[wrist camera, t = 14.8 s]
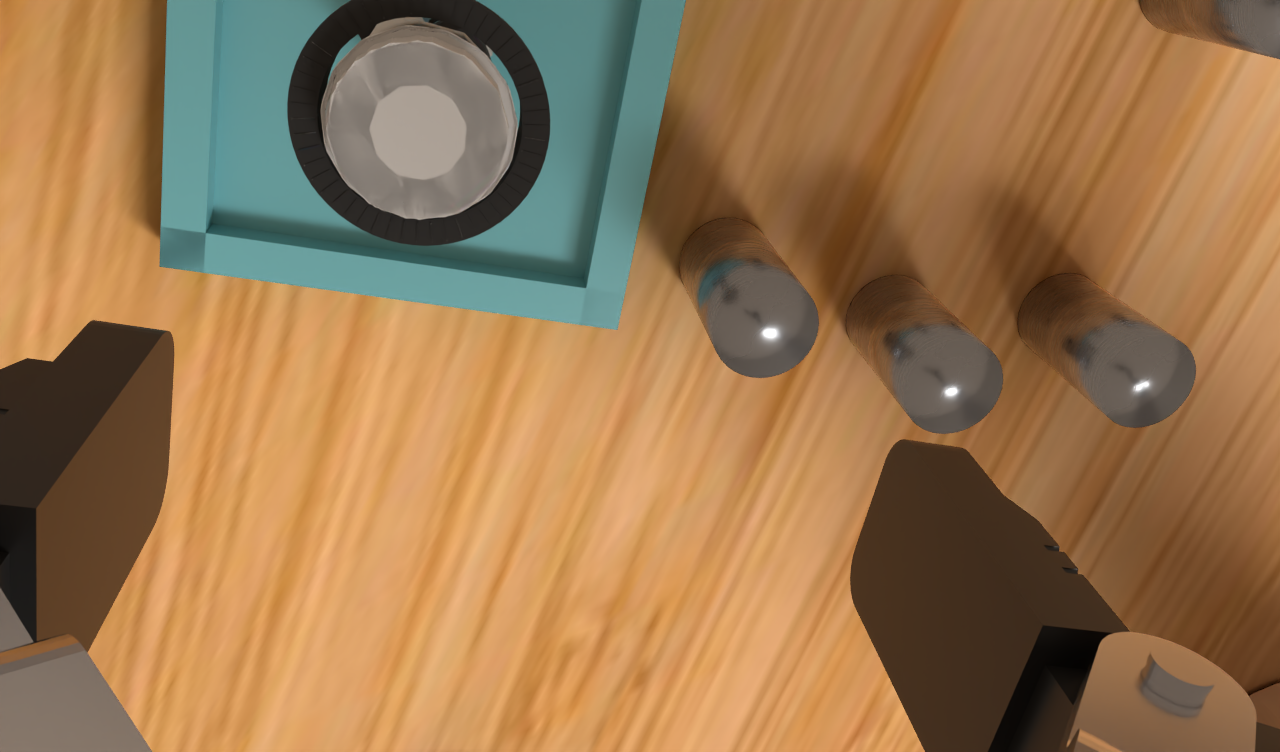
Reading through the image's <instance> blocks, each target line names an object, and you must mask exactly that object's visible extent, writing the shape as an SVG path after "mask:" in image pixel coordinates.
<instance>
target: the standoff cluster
mask: <svg viewBox="0 0 1280 752" xmlns="http://www.w3.org/2000/svg"><path fill="white" fill-rule="evenodd" d="M1139 1H1140V5H1141V8H1142V11H1143V13H1144V15H1145V17H1146V18H1147V19H1148V21H1149V22H1150V23H1151V24H1152V25H1154V26H1155V27H1157V28H1159V29H1161V30H1163V31H1167V32H1171V33H1175V34H1179V35H1183V36H1187V37H1191V38H1195V39H1199V40H1204V41H1208V42H1212V43H1216V44H1220V45H1224V46H1228V47H1232V48H1236V49H1240V50H1244V51H1249V52H1253V53H1257V54H1261V55H1265V56H1269V57H1273V58H1277V59H1280V0H1139ZM679 269H680V276H681V279H682V282H683V284H684V286H685V288H686V290H687V292H688V294H689V296H690V298H691V301H692V303H693V305H694V307H695V309H696V311H697V313H698V315H699V317H700V319H701V321H702V323H703V325H704V327H705V329H706V331H707V333H708V336H709V338H710V340H711V342H712V344H713V346H714V348H715V350H716V352H717V354H718V355H719V357H720V359H721V360H722V361H723V362H724V363H725V364H726V365H727V366H728V367H729V368H730V369H732V370H733V371H735V372H737V373H739V374H742V375H745V376H748V377H755V378H765V377H772V376H776V375H779V374H782V373H784V372H786V371H788V370H790V369H792V368H793V367H794V366H796V365H797V364H798V363H800V362H801V361H802V360H803V359H804V358H805V356H806V355H807V354H808V353H809V351H810V350H811V348H812V346H813V344H814V342H815V339H816V337H817V333H818V326H819V319H818V312H817V308H816V306H815V303H814V301H813V299H812V298H811V296H810V295H809V294H808V292H807V291H806V290H805V288H804V287H803V286H802V285H801V283H800V282H799V281H798V279H797V278H796V277H795V275H794V274H793V273H792V272H791V270H790V269H789V268H788V266H787V265H786V264H785V262H784V261H783V260H782V258H781V257H780V256H779V255H778V253H777V252H776V251H775V249H774V248H773V247H772V245H771V244H770V243H769V241H768V240H767V239H766V238H765V236H764V235H763V234H762V232H761V231H760V230H759V229H758V228H756V227H755V226H754V225H752V224H751V223H749V222H747V221H744V220H741V219H736V218H722V219H717V220H713V221H711V222H708V223H706V224H704V225H703V226H701V227H700V228H698V229H697V230H696V231H695V232H694V233H693V234H692V235H691V236H690V237H689V239H688V240H687V242H686V243H685V245H684V247H683V249H682V252H681V256H680V262H679ZM846 329H847V333H848V336H849V338H850V340H851V342H852V344H853V345H854V346H855V348H856V349H857V350H858V351H859V353H860V354H861V355H862V357H863V358H864V359H865V360H866V362H867V363H868V364H869V366H870V367H871V368H872V369H873V371H874V372H875V373H876V375H877V376H878V377H879V378H880V380H881V381H882V382H883V384H884V385H885V386H886V387H887V389H888V390H889V391H890V393H891V394H892V395H893V396H894V398H895V399H896V400H897V402H898V403H899V404H900V405H901V407H902V408H903V409H904V411H905V412H906V413H907V414H908V416H909V417H910V418H911V420H912V421H913V422H914V423H915V424H916V425H918V426H919V427H921V428H923V429H925V430H927V431H930V432H933V433H941V434H947V433H955V432H959V431H962V430H965V429H967V428H969V427H971V426H973V425H975V424H976V423H978V422H979V421H981V420H982V419H983V418H984V417H985V416H986V415H987V414H988V413H989V412H990V411H991V409H992V408H993V407H994V405H995V404H996V402H997V400H998V398H999V396H1000V393H1001V389H1002V384H1003V373H1002V368H1001V364H1000V362H999V360H998V358H997V357H996V355H995V354H994V353H993V352H992V351H991V350H990V349H989V348H988V347H987V346H986V345H985V344H984V343H983V342H982V341H980V340H979V339H978V338H977V337H976V336H975V335H974V334H973V333H972V332H971V331H970V330H969V329H968V328H967V327H966V326H965V325H964V324H963V323H962V322H960V321H959V320H958V319H957V318H956V317H955V316H954V315H953V314H952V313H951V312H950V311H949V310H948V309H947V308H946V307H945V306H944V305H943V304H942V303H941V302H939V301H938V300H937V299H936V298H935V297H934V296H933V295H932V294H931V293H930V292H929V291H928V290H927V289H926V288H925V287H924V286H923V285H922V284H920V283H919V282H918V281H916V280H914V279H912V278H910V277H906V276H901V275H891V276H885V277H882V278H879V279H876V280H874V281H872V282H871V283H869V284H868V285H866V286H865V287H864V288H863V289H861V290H860V291H859V293H858V294H857V295H856V296H855V298H854V299H853V301H852V302H851V304H850V307H849V309H848V313H847V317H846ZM1018 330H1019V334H1020V336H1021V339H1022V340H1023V342H1024V343H1025V344H1026V345H1027V346H1028V347H1029V348H1030V349H1031V350H1032V351H1033V352H1035V353H1036V354H1037V355H1038V356H1039V357H1040V358H1041V359H1042V360H1044V361H1045V362H1046V363H1047V364H1048V365H1049V366H1050V367H1052V368H1053V369H1054V370H1055V371H1056V372H1057V373H1058V374H1060V375H1061V376H1062V377H1063V378H1064V379H1065V380H1066V381H1067V382H1069V383H1070V384H1071V385H1072V386H1073V387H1074V388H1075V389H1077V390H1078V391H1079V392H1080V393H1081V394H1082V395H1083V396H1085V397H1086V398H1087V399H1088V400H1089V401H1090V402H1091V403H1092V404H1094V405H1095V406H1096V407H1097V408H1098V409H1099V410H1100V411H1102V412H1103V413H1104V414H1105V415H1106V416H1107V417H1108V418H1110V419H1111V420H1112V421H1113V422H1115V423H1117V424H1119V425H1122V426H1125V427H1133V428H1137V427H1145V426H1149V425H1153V424H1155V423H1158V422H1160V421H1162V420H1163V419H1165V418H1167V417H1168V416H1170V415H1171V414H1172V413H1174V412H1175V411H1176V410H1177V409H1178V408H1179V407H1180V406H1181V405H1182V403H1183V402H1184V401H1185V400H1186V398H1187V397H1188V395H1189V393H1190V391H1191V389H1192V387H1193V384H1194V380H1195V374H1196V365H1195V360H1194V357H1193V355H1192V353H1191V351H1190V350H1189V349H1188V347H1187V346H1186V345H1184V344H1183V343H1182V342H1180V341H1179V340H1177V339H1176V338H1175V337H1173V336H1172V335H1170V334H1169V333H1167V332H1166V331H1164V330H1163V329H1161V328H1160V327H1158V326H1157V325H1155V324H1154V323H1153V322H1151V321H1150V320H1148V319H1147V318H1145V317H1144V316H1142V315H1141V314H1139V313H1138V312H1136V311H1135V310H1133V309H1132V308H1131V307H1129V306H1128V305H1126V304H1125V303H1123V302H1122V301H1120V300H1119V299H1117V298H1116V297H1114V296H1113V295H1111V294H1110V293H1109V292H1107V291H1106V290H1104V289H1103V288H1101V287H1100V286H1098V285H1097V284H1095V283H1094V282H1092V281H1091V280H1089V279H1088V278H1086V277H1084V276H1082V275H1079V274H1073V273H1064V274H1059V275H1055V276H1052V277H1050V278H1048V279H1046V280H1044V281H1042V282H1041V283H1040V284H1038V285H1037V286H1036V287H1035V288H1034V289H1033V290H1032V291H1031V292H1030V293H1029V294H1028V296H1027V297H1026V298H1025V300H1024V302H1023V304H1022V306H1021V308H1020V312H1019V316H1018Z"/></svg>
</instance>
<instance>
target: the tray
mask: <svg viewBox="0 0 1280 752" xmlns="http://www.w3.org/2000/svg"><path fill="white" fill-rule="evenodd" d="M349 1H350V0H167V24H166V59H165V94H164V129H163V165H162V200H161V235H160V267H166V268H173V269H181V270H188V271H195V272H202V273H210V274H217V275H224V276H231V277H238V278H246V279H253V280H260V281H267V282H275V283H282V284H289V285H296V286H304V287H311V288H318V289H325V290H332V291H340V292H347V293H354V294H361V295H369V296H376V297H383V298H390V299H398V300H405V301H412V302H419V303H427V304H434V305H441V306H448V307H455V308H463V309H470V310H477V311H484V312H492V313H499V314H506V315H513V316H521V317H528V318H535V319H542V320H549V321H557V322H564V323H571V324H578V325H586V326H593V327H600V328H607V329H615V330H617V329H618V324H619V319H620V315H621V310H622V305H623V300H624V295H625V291H626V286H627V281H628V276H629V271H630V267H631V262H632V257H633V252H634V247H635V243H636V238H637V233H638V228H639V223H640V218H641V214H642V209H643V204H644V199H645V194H646V190H647V185H648V180H649V175H650V170H651V166H652V161H653V156H654V151H655V146H656V141H657V137H658V132H659V127H660V122H661V117H662V113H663V108H664V103H665V98H666V93H667V89H668V84H669V79H670V74H671V69H672V64H673V60H674V55H675V50H676V45H677V40H678V36H679V31H680V26H681V21H682V16H683V12H684V7H685V2H686V0H476V1H478V2H480V3H481V4H483V5H485V6H486V7H488V8H489V9H491V10H492V11H493V12H495V13H496V14H497V15H499V16H500V17H501V18H502V19H503V20H504V21H506V22H507V23H508V24H509V25H510V26H511V27H512V28H513V29H514V31H515V32H516V33H517V34H518V35H519V37H520V38H521V39H522V40H523V42H524V43H525V45H526V46H527V48H528V49H529V50H530V52H531V54H532V56H533V58H534V60H535V61H536V63H537V66H538V68H539V70H540V73H541V75H542V78H543V81H544V85H545V88H546V92H547V96H548V102H549V108H550V138H549V145H548V150H547V154H546V158H545V161H544V164H543V167H542V169H541V172H540V174H539V176H538V178H537V180H536V182H535V184H534V186H533V187H532V189H531V190H530V192H529V194H528V195H527V196H526V198H525V199H524V200H523V201H522V203H521V204H520V205H519V206H518V207H517V208H516V209H515V210H514V211H513V212H512V213H511V214H510V215H509V216H508V217H506V218H505V219H504V220H503V221H501V222H500V223H498V224H497V225H495V226H494V227H492V228H491V229H489V230H487V231H485V232H483V233H481V234H479V235H477V236H474V237H472V238H469V239H466V240H463V241H459V242H455V243H451V244H444V245H434V246H418V245H408V244H401V243H397V242H393V241H389V240H385V239H383V238H380V237H377V236H374V235H372V234H370V233H368V232H366V231H363V230H361V229H360V228H358V227H356V226H355V225H353V224H351V223H350V222H348V221H347V220H346V219H344V218H343V217H341V216H340V215H339V214H338V213H336V212H335V211H334V210H333V209H332V208H331V207H330V206H329V205H328V204H327V203H326V202H325V201H324V200H323V199H322V198H321V197H320V196H319V194H318V193H317V192H316V190H315V189H314V188H313V186H312V185H311V184H310V182H309V180H308V179H307V177H306V175H305V174H304V172H303V170H302V168H301V166H300V164H299V162H298V160H297V157H296V154H295V151H294V148H293V146H292V142H291V137H290V133H289V126H288V118H287V101H288V90H289V85H290V80H291V76H292V73H293V70H294V67H295V64H296V61H297V59H298V57H299V55H300V53H301V51H302V49H303V47H304V46H305V44H306V42H307V41H308V39H309V38H310V36H311V35H312V34H313V33H314V31H315V30H316V29H317V28H318V26H319V25H320V24H321V23H322V22H323V21H324V20H325V19H326V18H327V17H328V16H329V15H330V14H332V13H333V12H334V11H336V10H337V9H338V8H339V7H341V6H342V5H344V4H346V3H347V2H349ZM360 41H361V38H360V37H359V35H356V36H355V37H354V38H352V39H351V40H350V41H349V42H348V43H347V44H346V45H345V46H344V47H342V48H341V50H340V51H339V53H338V55H337V56H336V59H335V61H334V63H333V65H332V68H331V71H330V75H329V78H328V82H329V79H330V76H331V73H332V71H333V69H334V68H335V66H336V65H337V63H338V62H339V61H340V60H341V59H342V58H343V57H344V56H345V55H346V54H347V53H348V52H349V51H350V50H351V49H352V48H353V47H354V46H355V45H357V44H358V43H359V42H360ZM492 54H493V55H492V56H491V57H490V58H491V61H492V63H493V64H494V65H495V66H496V68H497V70H498V71H499V72H500V74H501V75H502V76H503V78H504V79H505V80H506V82H507V84H508V86H509V89H510V91H511V96H512V100H513V104H514V108H515V112H516V116H517V120H518V127H519V119H520V100H519V96H518V93H517V90H516V87H515V85H514V82H513V80H512V78H511V76H510V74H509V73H508V71H507V69H506V68H505V66H504V65H503V63H502V62H501V60H500V59H499V58H498V57H497V56H496V54H495V53H494V52H493V53H492ZM327 85H328V84H327ZM517 131H518V130H517Z"/></svg>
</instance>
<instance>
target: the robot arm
mask: <svg viewBox="0 0 1280 752" xmlns="http://www.w3.org/2000/svg"><path fill="white" fill-rule="evenodd" d="M173 371H174V342H173V337H172V334H171V333H170V332H169V331H164V330H157V329H150V328H143V327H137V326H130V325H123V324H116V323H109V322H102V321H95V320H93V321H90V322H89V323H88V324H87V325H86V326H85V327H84V328H83V329H82V331H81V332H80V333H79V334H78V335H77V336H76V337H75V338H74V339H73V340H72V342H71V343H70V344H69V345H68V346H67V347H66V348H65V349H64V350H63V351H62V353H61V354H60V355H59V356H58V357H57V358H56V359H55V360H54V361H53V362H51V361H44V360H36V359H29V358H27V359H24V360H22V361H19V362H17V363H15V364H12V365H10V366H7V367H5V368H3V369H0V752H152V751H151V749H150V748H149V746H148V745H147V743H146V741H145V740H144V738H143V737H142V735H141V734H140V732H139V731H138V729H137V728H136V726H135V725H134V723H133V722H132V720H131V719H130V717H129V716H128V714H127V713H126V711H125V710H124V708H123V707H122V705H121V703H120V702H119V700H118V699H117V697H116V696H115V694H114V693H113V691H112V690H111V688H110V687H109V685H108V684H107V682H106V681H105V679H104V678H103V676H102V675H101V673H100V672H99V670H98V669H97V667H96V665H95V664H94V662H93V661H92V659H91V658H90V656H89V655H88V653H87V652H88V650H89V649H90V647H91V645H92V643H93V641H94V639H95V637H96V635H97V633H98V631H99V630H100V628H101V626H102V624H103V622H104V620H105V618H106V616H107V614H108V613H109V611H110V609H111V607H112V605H113V603H114V601H115V599H116V597H117V595H118V594H119V592H120V590H121V588H122V586H123V584H124V582H125V580H126V578H127V577H128V575H129V573H130V571H131V569H132V567H133V565H134V563H135V561H136V559H137V558H138V556H139V554H140V552H141V550H142V548H143V546H144V544H145V542H146V541H147V539H148V537H149V535H150V533H151V531H152V529H153V527H154V525H155V523H156V521H157V518H158V515H159V512H160V509H161V506H162V502H163V498H164V494H165V488H166V483H167V476H168V466H169V449H170V429H171V410H172V390H173ZM850 584H851V594H852V599H853V603H854V605H855V608H856V610H857V612H858V614H859V616H860V618H861V620H862V622H863V624H864V626H865V628H866V630H867V633H868V635H869V637H870V639H871V641H872V643H873V645H874V647H875V649H876V651H877V653H878V655H879V657H880V659H881V661H882V664H883V666H884V668H885V670H886V672H887V674H888V676H889V678H890V680H891V682H892V684H893V686H894V688H895V690H896V692H897V695H898V697H899V699H900V701H901V703H902V705H903V707H904V709H905V711H906V713H907V715H908V717H909V719H910V721H911V723H912V726H913V728H914V730H915V732H916V734H917V736H918V738H919V740H920V742H921V744H922V746H923V748H924V750H925V752H1280V683H1277V684H1274V685H1272V686H1269V687H1267V688H1265V689H1262V690H1260V691H1258V692H1255V693H1253V694H1252V695H1250V696H1248V694H1247V693H1246V692H1245V690H1244V689H1243V688H1242V687H1241V686H1240V685H1239V684H1238V683H1237V682H1236V681H1235V680H1234V679H1233V678H1232V677H1231V676H1230V675H1228V674H1227V673H1226V672H1225V671H1223V670H1222V669H1221V668H1220V667H1218V666H1217V665H1215V664H1214V663H1212V662H1211V661H1209V660H1208V659H1206V658H1204V657H1203V656H1201V655H1199V654H1197V653H1196V652H1194V651H1192V650H1190V649H1188V648H1185V647H1183V646H1181V645H1179V644H1176V643H1174V642H1171V641H1169V640H1166V639H1163V638H1160V637H1157V636H1152V635H1148V634H1144V633H1136V632H1130V631H1129V630H1128V629H1127V627H1126V626H1125V625H1124V624H1123V623H1122V621H1121V620H1120V619H1119V618H1118V617H1117V615H1116V614H1115V613H1114V612H1113V611H1112V609H1111V608H1110V607H1109V606H1108V605H1107V603H1106V602H1105V601H1104V600H1103V599H1102V597H1101V596H1100V595H1099V594H1098V592H1097V591H1096V590H1095V589H1094V588H1093V586H1092V585H1091V584H1090V583H1089V582H1088V580H1087V579H1086V578H1085V577H1084V576H1083V575H1080V574H1078V568H1077V567H1076V566H1075V565H1074V564H1073V562H1072V561H1071V560H1070V559H1069V558H1068V556H1067V555H1066V554H1065V553H1064V552H1059V545H1058V544H1057V543H1056V542H1055V541H1054V539H1053V538H1052V537H1051V536H1050V535H1049V533H1048V532H1047V531H1046V530H1045V529H1044V527H1043V526H1042V525H1041V524H1040V523H1039V521H1038V520H1037V519H1035V518H1034V517H1033V516H1031V515H1030V514H1029V513H1027V512H1026V511H1024V510H1023V509H1022V508H1020V507H1019V506H1018V505H1016V504H1015V503H1013V502H1012V501H1011V500H1009V499H1008V498H1006V497H1005V496H1004V495H1003V494H1002V493H1001V492H1000V490H999V489H998V488H997V487H996V485H995V484H994V483H993V482H992V481H991V479H990V478H989V477H988V476H987V474H986V473H985V472H984V471H983V469H982V468H981V467H980V466H979V464H978V463H977V462H976V461H975V460H974V458H973V457H972V456H971V455H970V453H969V452H968V451H967V450H965V449H963V448H959V447H952V446H945V445H938V444H932V443H925V442H918V441H911V440H904V439H903V440H900V441H898V442H897V443H896V444H895V445H894V446H893V447H892V448H891V450H890V452H889V454H888V456H887V458H886V461H885V463H884V466H883V469H882V472H881V475H880V478H879V481H878V484H877V487H876V489H875V492H874V495H873V498H872V501H871V504H870V507H869V510H868V513H867V516H866V519H865V522H864V525H863V527H862V530H861V533H860V536H859V539H858V542H857V545H856V548H855V551H854V555H853V559H852V565H851V575H850Z"/></svg>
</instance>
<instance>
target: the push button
mask: <svg viewBox="0 0 1280 752" xmlns="http://www.w3.org/2000/svg"><path fill="white" fill-rule="evenodd" d="M356 35H359V37H360V38H361V41H360V42H359V43H358V44H357V45H355V46H354V47H353V48H352V49H351V50H350V51H349V52H348V53H347V54H346V55H345V56H344V57H343V58H342V59H341V60H340V61H339V62H338V63H337V65H336V66H335V68H334V69H333V71H332V73H331V76H330V79H329V82H328V78H329V75H330V71H331V68H332V65H333V63H334V61H335V59H336V56H337V55H338V53H339V51H340V50H341V48H342V47H344V46H345V45H346V44H347V43H348V42H349V41H350V40H351V39H352V38H354V37H355V36H356ZM493 52H494V53H495V54H496V56H497V57H498V58H499V59H500V60H501V62H502V63H503V65H504V66H505V68H506V69H507V71H508V73H509V74H510V76H511V78H512V80H513V82H514V85H515V87H516V90H517V93H518V96H519V100H520V119H519V127H518V120H517V116H516V112H515V108H514V104H513V100H512V96H511V91H510V89H509V86H508V84H507V82H506V80H505V79H504V78H503V76H502V75H501V74H500V72H499V71H498V70H497V68H496V66H495V65H494V64H493V63H492V61H491V58H490V57H491V56H492V55H493V54H492V53H493ZM327 84H328V85H327ZM287 118H288V126H289V133H290V137H291V142H292V146H293V148H294V151H295V154H296V157H297V160H298V162H299V164H300V166H301V168H302V170H303V172H304V174H305V175H306V177H307V179H308V180H309V182H310V184H311V185H312V186H313V188H314V189H315V190H316V192H317V193H318V194H319V196H320V197H321V198H322V199H323V200H324V201H325V202H326V203H327V204H328V205H329V206H330V207H331V208H332V209H333V210H334V211H335V212H336V213H338V214H339V215H340V216H341V217H343V218H344V219H346V220H347V221H348V222H350V223H351V224H353V225H355V226H356V227H358V228H360V229H361V230H363V231H366V232H368V233H370V234H372V235H374V236H377V237H380V238H383V239H385V240H389V241H393V242H397V243H401V244H408V245H418V246H434V245H444V244H451V243H455V242H459V241H463V240H466V239H469V238H472V237H474V236H477V235H479V234H481V233H483V232H485V231H487V230H489V229H491V228H492V227H494V226H495V225H497V224H498V223H500V222H501V221H503V220H504V219H505V218H506V217H508V216H509V215H510V214H511V213H512V212H513V211H514V210H515V209H516V208H517V207H518V206H519V205H520V204H521V203H522V201H523V200H524V199H525V198H526V196H527V195H528V194H529V192H530V190H531V189H532V187H533V186H534V184H535V182H536V180H537V178H538V176H539V174H540V172H541V169H542V167H543V164H544V161H545V158H546V154H547V150H548V145H549V138H550V108H549V102H548V96H547V92H546V88H545V85H544V81H543V78H542V75H541V73H540V70H539V68H538V66H537V63H536V61H535V60H534V58H533V56H532V54H531V52H530V50H529V49H528V48H527V46H526V45H525V43H524V42H523V40H522V39H521V38H520V37H519V35H518V34H517V33H516V32H515V31H514V29H513V28H512V27H511V26H510V25H509V24H508V23H507V22H506V21H504V20H503V19H502V18H501V17H500V16H499V15H497V14H496V13H495V12H493V11H492V10H491V9H489V8H488V7H486V6H485V5H483V4H481V3H480V2H478V1H476V0H350V1H349V2H347V3H346V4H344V5H342V6H341V7H339V8H338V9H337V10H336V11H334V12H333V13H332V14H330V15H329V16H328V17H327V18H326V19H325V20H324V21H323V22H322V23H321V24H320V25H319V26H318V28H317V29H316V30H315V31H314V33H313V34H312V35H311V36H310V38H309V39H308V41H307V42H306V44H305V46H304V47H303V49H302V51H301V53H300V55H299V57H298V59H297V61H296V64H295V67H294V70H293V73H292V76H291V80H290V85H289V90H288V101H287ZM517 130H518V131H517Z"/></svg>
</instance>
